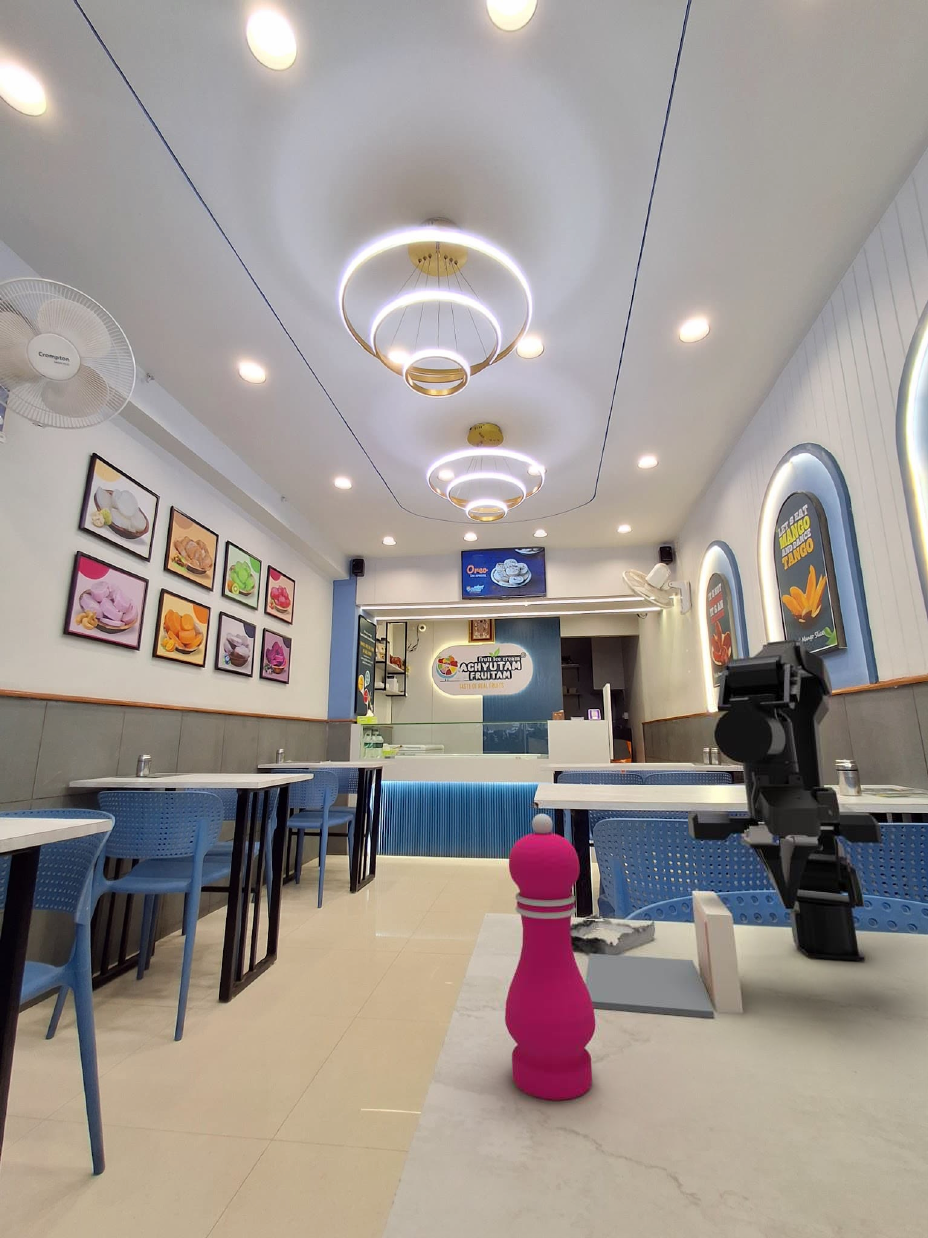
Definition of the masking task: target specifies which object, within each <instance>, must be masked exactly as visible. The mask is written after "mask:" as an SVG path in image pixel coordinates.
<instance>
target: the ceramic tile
mask: <svg viewBox="0 0 928 1238" xmlns="http://www.w3.org/2000/svg"><path fill="white" fill-rule="evenodd" d="M691 894H692V908H693V909H692V910H693V911H692V912H693V918H694V919H693V921H694V931H695V940H696V951H697V953H696V954H697V961H698V967H699V973H700V975H701V978H702V980H703V983H704V986H705V988H706V991H707V992H708V995H709V997H710V1000H711V1002H712V1005H713V1007H714V1009H715V1012H720V1013H733V1014H744V1010H743V1001H742V992H741V982H740V973H739V966H738V965H739V964H738V955H737V954H738V953H737V947H736V945H737V944H736V936H735V928H734V920H733V914H732V913H731V912H730V911H729V909H728V908H727V907H726V905H725V904H724V903H723V902H722V900H721V899H720V898H719V896H718V895H717V894H716V893H715V891H707V890H706V891H705V890H704V891H703V890H702V891H701V890H692V891H691Z"/></svg>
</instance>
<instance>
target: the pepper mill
mask: <svg viewBox="0 0 928 1238" xmlns="http://www.w3.org/2000/svg"><path fill="white" fill-rule="evenodd" d="M553 825H554V824H553V821H552V818H551V817H550V816H549V815H547V814H545V813H539V814H537V815H535V816H534V818H533V819H532V822H531V826H532V829H533V831H534V832H532V833H529V834H526V835H524V836H522V837H521V838H520V839H518V840H517V841H516V842H515V843H514V845H513V846H512V849H511V850H510V853H509V858H508V869H509V870H508V871H509V874H510V877H511V879H512V881H513V882H514V884H516V886H517V887H518V890H519V892H517V893H516V894H515V900H516V906H515V912H516V913H517V914H519V915H520V919H521V925H522V944H521V945H522V946H521V949H520V950H521V952H520V955H519V960H518V963H517V965H516V969H515V972H514V974H513V977H512V980H511V982H510V985H509V988H508V991H507V992H508V993H507V997H506V1000H505V1011H504V1012H505V1015H504V1017H505V1018H504V1023H505V1027H506V1028H507V1032H508V1033H509V1035H510V1037H511V1038H512V1039H513V1040H514V1042H515V1043H516V1046H515V1047H514V1048H513V1050H512V1053H511V1067H512V1068H511V1069H512V1070H511V1071H512V1080H513V1082H514V1084H515V1085H516V1087H517V1088H518V1089H519V1090H521V1091H522V1092H523V1093H526V1094H527V1095H530V1096H533V1097H535V1098H539V1099H544V1100H549V1101H550V1100H552V1101H553V1100H554V1101H557V1100H558V1101H564V1100H571V1099H575V1098H577V1097H580V1096H583V1095H585V1094H586V1093H587V1092H588V1091H589V1090H590V1089H591V1086H592V1084H593V1067H592V1057H591V1054H590V1052H589V1051H588V1049H586V1047H587V1045H588V1044H589V1043H590V1041H591V1040H592V1038H593V1036H594V1034H595V1032H596V1017H595V1008H593V1003H592V1000H591V997H590V994H589V991H588V989H587V987H586V981H585V980H584V979H583V976H582V974H581V972H580V969H579V966H578V963H577V961H576V958H575V954H574V951H573V950H572V943H571V933H570V927H571V924H572V921H571V920H572V916H573V915H574V914H575V913H576V912H577V909H576V906H575V903H574V902H575V901H576V896H575V894H573V893H572V892H571V891H572V888H573V887H574V885H575V884H576V883H577V881H578V879H579V875H580V867H581V866H580V860H579V856H578V853H577V851H576V849H575V847H574V846H573V844H572V843H571V842H570V841H569V840H568V839H566V838H565V837H563V836H561V835H559V834H557V833H554V832H553V833H552V829H553Z"/></svg>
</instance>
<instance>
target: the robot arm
mask: <svg viewBox="0 0 928 1238" xmlns="http://www.w3.org/2000/svg"><path fill="white" fill-rule="evenodd" d="M724 667H725V668H723V669H722V671H721V674H720V683H719V691H718V697H717V698H718V699H717V700H718V701H717V707H716V708H717V712H719V713H722V715H721V716H720V717H719V719H718V720H717V723H716V725H715V729H714V733H713V734H714V737H713V738H714V740H715V744H716V745H717V748H718V749H719V751H720V752H721V753H722V755H724V756H725V757H726V758H728V759H730V760H731V761H734V762H736V763H741V764H742V771H743V781H744V786H745V787H744V788H745V795H746V802H747V815H748V816H744V817H743V816H741V817H739V816H729V813H727V812H725V811H723V810H691V812H690V813H689V814H688V815H687V825H688V834H689V836H691V838H693V839H694V840H699V841H726V840H727V839H728V838H729V837H730V836H731V834H737V835H738V834H741V836H743V837H741V838H740V843H741V844H742V845H744V846H746V847H747V848H749V849H752V850H753V851H754V853H755V855H756V856H757V857H758V859H759V861H760V862H761V864H762V865H763V867H764V869H765V871H766V874H767V875H768V878H769V880H770V882H771V884H772V886H773V888H774V890H775V892H776V894H777V896H778V899H779V901H780V902H781V904H782V907H783V908H784V909H785V910H789V917H790V918H789V919H790V924H791V933H792V941H793V943H794V944H795V945H796V947H798V949H799V950H800V951H801V952H802V953H803V954H804V955H806V956H807V957H809V958H812V959H813V958H817V959H832V960H847V961H848V960H849V961H865V960H866V959H865V955H863V953H862V952H860V951H859V946H858V945H859V944H858V939H857V933H856V932H857V931H856V927H855V920H854V915H853V914H854V913H853V909H857V908H863V907H865V902H864V900H865V899H864V894H863V889H862V886H861V883H860V879H859V878H860V877H859V874H858V871H857V869H856V868H855V867H854V866H853V863H852V862H851V861H850V857H849V856H846V855H845V848H844V846H843V845H842V843H841V842H840V841H839V840H838V838H837V837H843V838H844V839H845V840H846V841H847V842H849V843H853V844H854V843H856V844H857V843H859V844H882V843H883V838H882V833H881V826H880V824H879V823H878V820H877V819H876V818H875V817H874V816H873V815H871V814H868V813H863V812H857V811H840V806H839V800H838V796H837V795H838V794H837V791H836V790H834V788H833V787H830V786H825V781H824V770H823V768H824V767H823V761H822V760H823V759H822V750H821V738H820V728H819V726H820V724H821V723H822V721H823V720H824V719H825V717H826V716H827V714H828V713H829V711H830V705H829V704H830V702H829V696H832V695H833V687H832V682H831V677H830V673H829V671H828V668H827V666H826V664H825V660H824V659H823V658H821V657H819V656H818V655H816V654H814V653H812V652H811V651H809V650H807V649H806V648H805V646H804V644H803V641H802V640H801V639H799V640H797V639H786V640H779V641H770V642H767V643H766V644H763V645H762V649H761V650H760V651H758V652H757V654H755V655H753V656H749V657H742V658H741V657H740V658H732V659H728V660H727V661H726V663H725V666H724ZM773 836H775V837H778V843H779V844H778V843H776V842H774V837H773ZM844 893H847V894H844Z"/></svg>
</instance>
